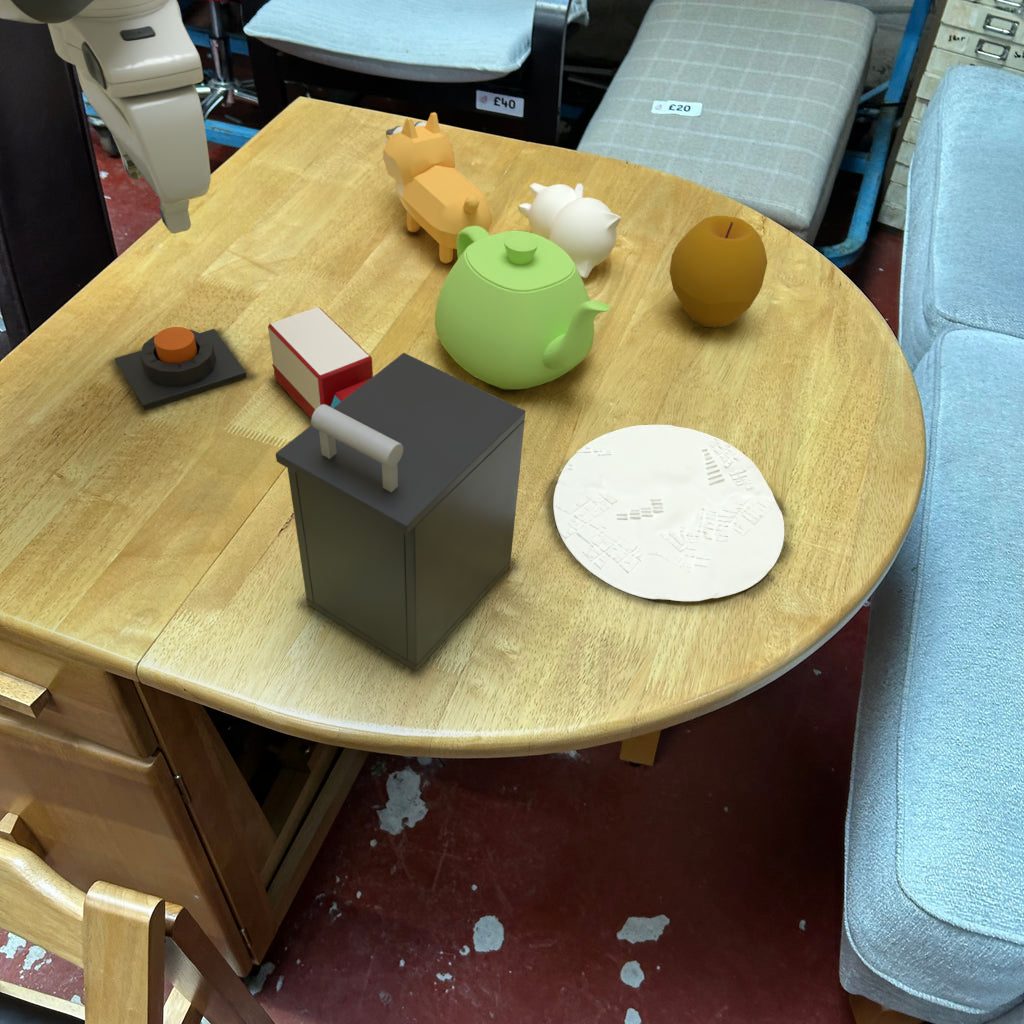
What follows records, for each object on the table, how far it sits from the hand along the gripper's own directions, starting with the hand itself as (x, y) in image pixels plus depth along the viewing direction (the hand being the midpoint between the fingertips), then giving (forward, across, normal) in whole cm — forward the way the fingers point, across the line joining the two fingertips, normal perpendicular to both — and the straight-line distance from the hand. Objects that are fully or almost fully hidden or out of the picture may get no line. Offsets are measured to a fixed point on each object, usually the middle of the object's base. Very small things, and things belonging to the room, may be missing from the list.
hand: (157, 200), depth 77 cm
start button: (+17, -2, -1) cm, 17 cm away
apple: (+20, +15, +51) cm, 57 cm away
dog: (+20, -13, +33) cm, 40 cm away
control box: (+19, -2, -1) cm, 19 cm away
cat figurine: (+20, -2, +45) cm, 50 cm away
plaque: (+19, +36, +28) cm, 50 cm away
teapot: (+19, +12, +29) cm, 37 cm away
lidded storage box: (+19, +32, +5) cm, 37 cm away
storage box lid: (+3, +32, +5) cm, 33 cm away
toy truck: (+19, +11, +10) cm, 24 cm away
